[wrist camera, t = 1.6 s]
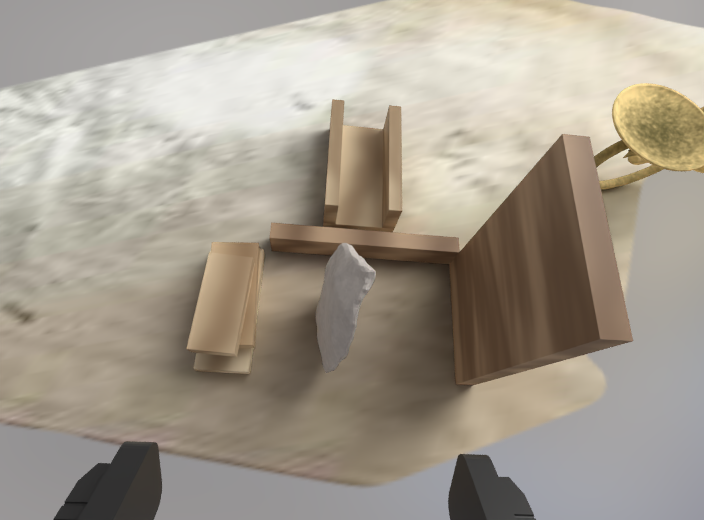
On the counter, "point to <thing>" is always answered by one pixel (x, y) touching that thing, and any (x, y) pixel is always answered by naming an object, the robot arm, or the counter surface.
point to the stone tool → (341, 303)
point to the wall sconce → (655, 132)
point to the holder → (363, 173)
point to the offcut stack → (227, 309)
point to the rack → (514, 269)
